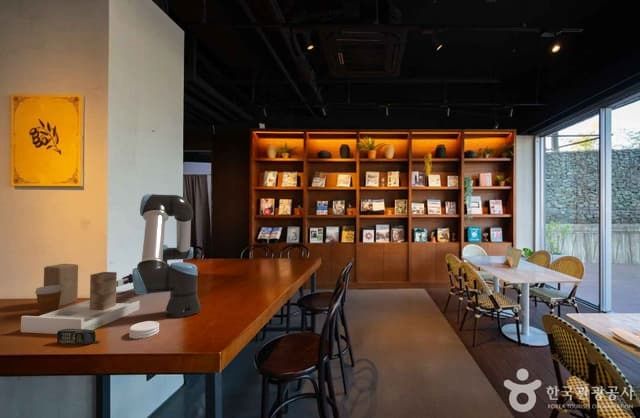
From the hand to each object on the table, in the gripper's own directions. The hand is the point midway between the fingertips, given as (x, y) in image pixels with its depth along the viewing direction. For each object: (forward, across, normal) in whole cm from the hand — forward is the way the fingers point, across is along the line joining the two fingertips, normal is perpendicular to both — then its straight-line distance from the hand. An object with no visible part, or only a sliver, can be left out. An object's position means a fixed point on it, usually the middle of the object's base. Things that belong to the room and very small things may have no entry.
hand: (117, 283), depth 144 cm
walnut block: (+8, 0, -9) cm, 12 cm away
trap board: (+16, 0, -12) cm, 20 cm away
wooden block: (-2, +33, -12) cm, 35 cm away
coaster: (+28, -36, -12) cm, 47 cm away
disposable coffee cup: (+11, +25, -12) cm, 30 cm away
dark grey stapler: (+38, -18, -12) cm, 44 cm away
